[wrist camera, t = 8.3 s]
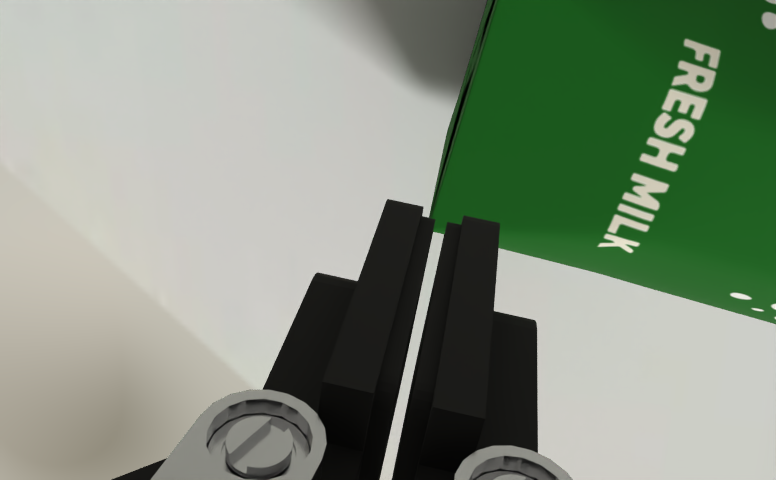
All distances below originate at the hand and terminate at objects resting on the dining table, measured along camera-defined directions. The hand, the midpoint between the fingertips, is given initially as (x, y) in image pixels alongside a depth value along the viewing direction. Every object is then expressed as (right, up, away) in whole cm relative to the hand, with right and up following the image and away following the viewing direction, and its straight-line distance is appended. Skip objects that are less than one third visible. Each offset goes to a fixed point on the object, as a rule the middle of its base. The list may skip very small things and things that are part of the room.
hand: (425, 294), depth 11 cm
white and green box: (+2, +6, +9) cm, 11 cm away
